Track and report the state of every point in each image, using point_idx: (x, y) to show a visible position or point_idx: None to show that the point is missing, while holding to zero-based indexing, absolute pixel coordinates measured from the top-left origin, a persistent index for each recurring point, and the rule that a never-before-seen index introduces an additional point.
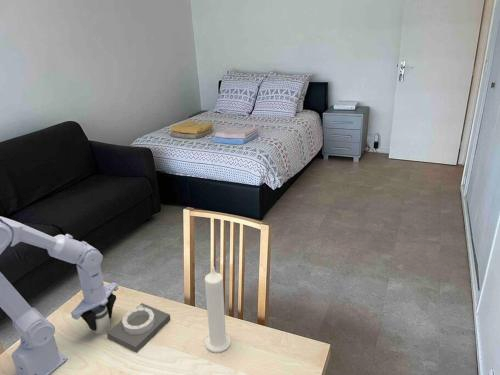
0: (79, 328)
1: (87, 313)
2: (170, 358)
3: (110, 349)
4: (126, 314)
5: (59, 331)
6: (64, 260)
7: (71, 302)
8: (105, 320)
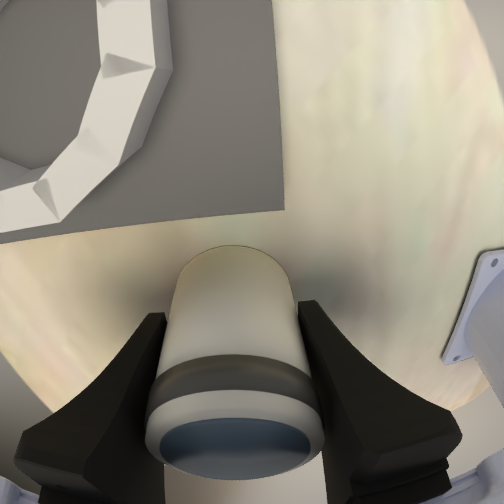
0: None
1: (413, 478)
2: None
3: (343, 79)
4: (39, 216)
5: None
6: None
7: None
8: (225, 315)
